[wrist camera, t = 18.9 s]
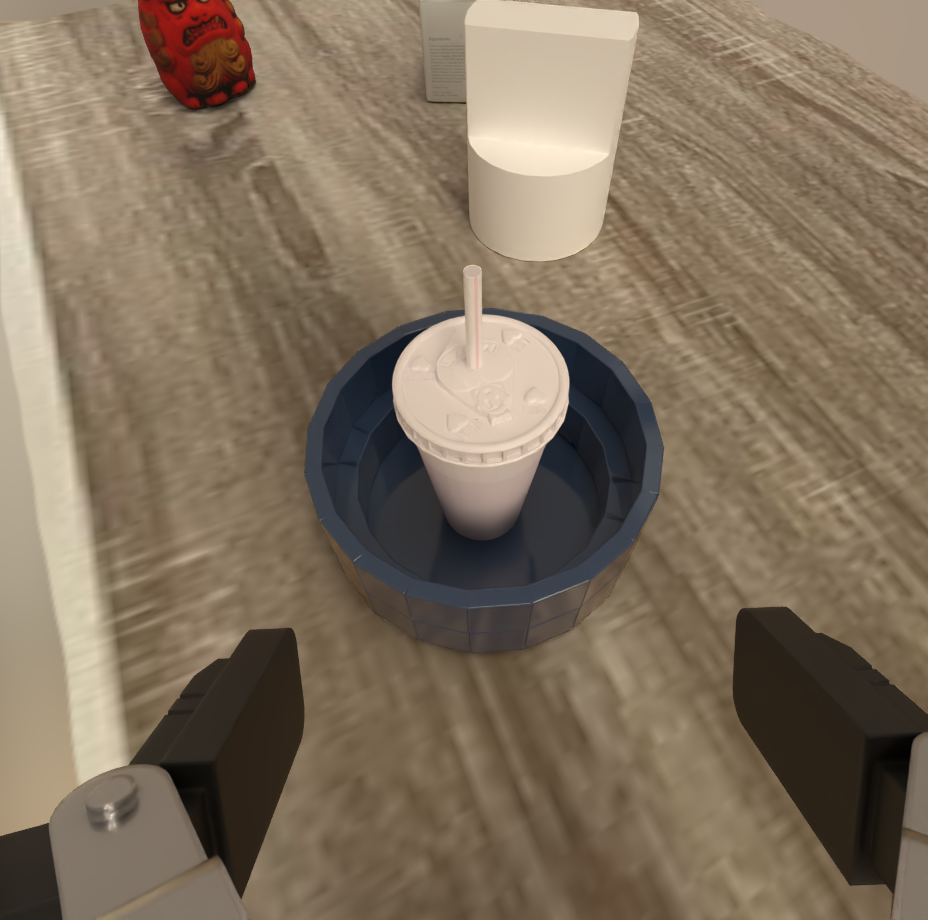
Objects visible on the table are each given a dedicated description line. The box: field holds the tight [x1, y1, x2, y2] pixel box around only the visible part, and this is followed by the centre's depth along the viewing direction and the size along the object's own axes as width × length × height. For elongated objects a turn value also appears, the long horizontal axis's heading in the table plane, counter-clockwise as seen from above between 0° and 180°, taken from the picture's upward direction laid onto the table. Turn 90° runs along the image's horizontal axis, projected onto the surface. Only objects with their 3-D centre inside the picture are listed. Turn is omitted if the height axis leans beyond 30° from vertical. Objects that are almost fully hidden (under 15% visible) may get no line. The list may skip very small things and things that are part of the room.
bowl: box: [304, 308, 664, 653], centre depth 29 cm, size 14×14×6 cm
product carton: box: [419, 0, 507, 102], centre depth 49 cm, size 6×6×7 cm
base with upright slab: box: [464, 0, 639, 262], centre depth 38 cm, size 9×9×12 cm
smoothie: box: [392, 265, 569, 540], centre depth 25 cm, size 6×6×14 cm
